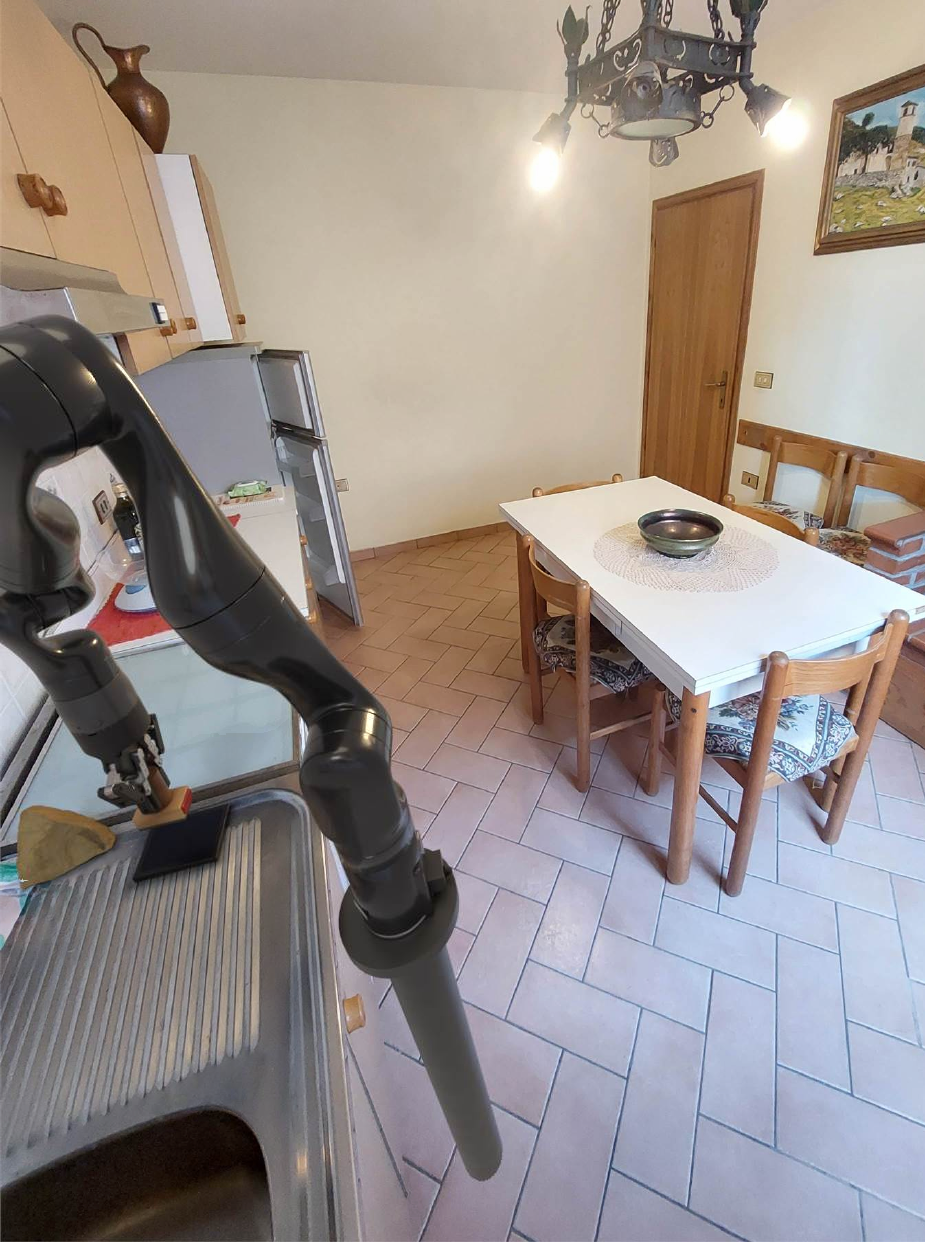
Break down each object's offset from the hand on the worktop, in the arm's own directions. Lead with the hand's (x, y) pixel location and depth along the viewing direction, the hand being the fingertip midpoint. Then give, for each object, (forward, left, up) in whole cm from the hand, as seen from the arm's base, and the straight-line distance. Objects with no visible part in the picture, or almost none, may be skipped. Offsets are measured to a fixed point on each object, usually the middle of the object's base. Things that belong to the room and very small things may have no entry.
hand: (157, 799), depth 76 cm
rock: (+16, -2, -10) cm, 19 cm away
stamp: (0, 0, -3) cm, 3 cm away
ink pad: (0, 0, -10) cm, 10 cm away
